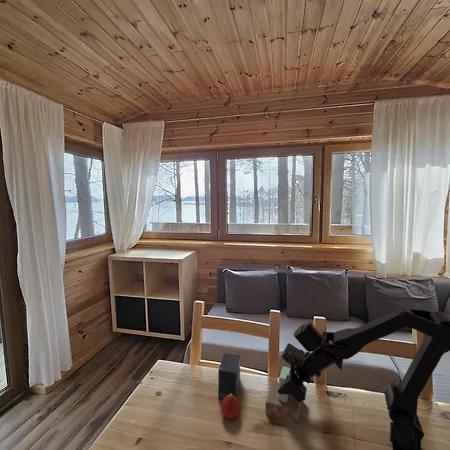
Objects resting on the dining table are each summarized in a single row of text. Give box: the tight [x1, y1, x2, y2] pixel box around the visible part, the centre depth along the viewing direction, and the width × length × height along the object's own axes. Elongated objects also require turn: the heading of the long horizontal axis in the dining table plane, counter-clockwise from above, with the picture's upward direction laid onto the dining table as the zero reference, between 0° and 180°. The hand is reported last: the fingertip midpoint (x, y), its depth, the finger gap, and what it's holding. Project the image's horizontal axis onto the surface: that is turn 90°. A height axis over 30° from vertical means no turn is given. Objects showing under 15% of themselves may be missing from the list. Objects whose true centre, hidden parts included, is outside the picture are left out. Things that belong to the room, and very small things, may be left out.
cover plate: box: [278, 365, 291, 404], centre depth 86 cm, size 2×6×11 cm, turn 156°
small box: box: [217, 352, 241, 400], centre depth 96 cm, size 11×6×10 cm, turn 168°
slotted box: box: [265, 381, 303, 425], centre depth 86 cm, size 10×10×5 cm
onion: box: [221, 394, 241, 419], centre depth 83 cm, size 6×6×8 cm
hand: (280, 385), depth 86 cm, fingers closed on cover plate, 6 cm apart
